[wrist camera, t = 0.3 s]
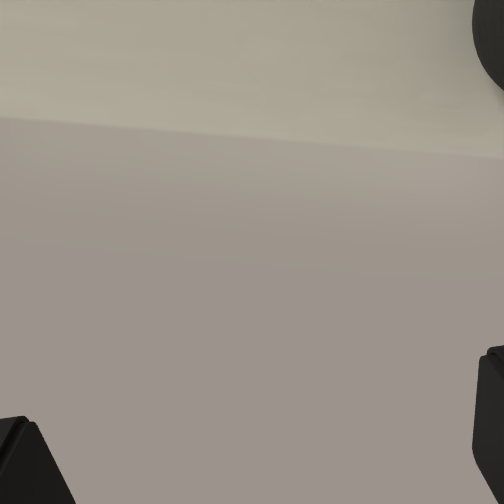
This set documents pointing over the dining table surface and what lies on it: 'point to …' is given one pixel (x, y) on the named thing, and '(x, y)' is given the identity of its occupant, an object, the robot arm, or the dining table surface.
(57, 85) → the dining table surface
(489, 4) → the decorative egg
